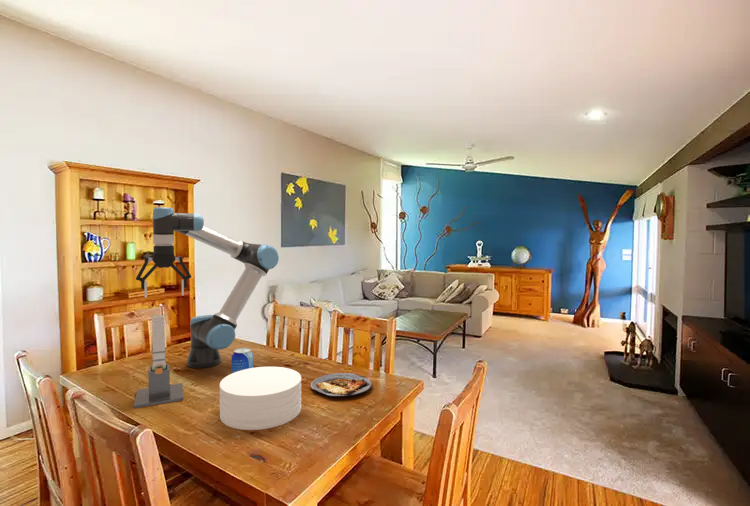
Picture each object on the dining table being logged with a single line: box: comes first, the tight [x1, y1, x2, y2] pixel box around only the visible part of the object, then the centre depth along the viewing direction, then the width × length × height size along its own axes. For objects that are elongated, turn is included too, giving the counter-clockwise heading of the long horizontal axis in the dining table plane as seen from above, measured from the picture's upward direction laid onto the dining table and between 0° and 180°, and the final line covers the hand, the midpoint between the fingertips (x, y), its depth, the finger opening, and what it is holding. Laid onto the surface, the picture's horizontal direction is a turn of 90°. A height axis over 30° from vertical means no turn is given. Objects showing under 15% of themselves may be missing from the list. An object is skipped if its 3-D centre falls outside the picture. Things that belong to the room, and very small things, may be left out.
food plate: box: [310, 372, 373, 398], centre depth 165 cm, size 25×23×4 cm
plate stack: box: [219, 366, 302, 431], centre depth 144 cm, size 28×28×12 cm
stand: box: [133, 363, 184, 409], centre depth 155 cm, size 16×16×12 cm
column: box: [151, 314, 167, 371], centre depth 154 cm, size 5×5×22 cm
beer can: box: [231, 347, 254, 374], centre depth 163 cm, size 8×8×16 cm
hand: (164, 296), depth 166 cm, fingers open, 13 cm apart
